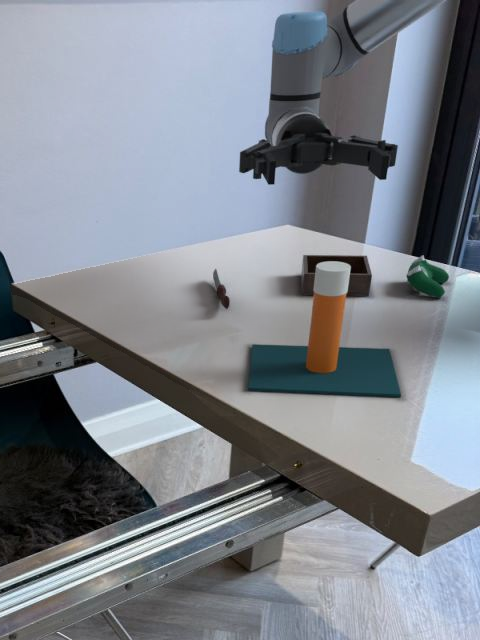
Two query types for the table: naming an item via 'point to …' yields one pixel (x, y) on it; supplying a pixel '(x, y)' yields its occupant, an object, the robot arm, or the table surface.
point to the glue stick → (327, 315)
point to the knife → (220, 291)
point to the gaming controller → (427, 278)
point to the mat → (348, 379)
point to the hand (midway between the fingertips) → (328, 170)
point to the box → (357, 279)
